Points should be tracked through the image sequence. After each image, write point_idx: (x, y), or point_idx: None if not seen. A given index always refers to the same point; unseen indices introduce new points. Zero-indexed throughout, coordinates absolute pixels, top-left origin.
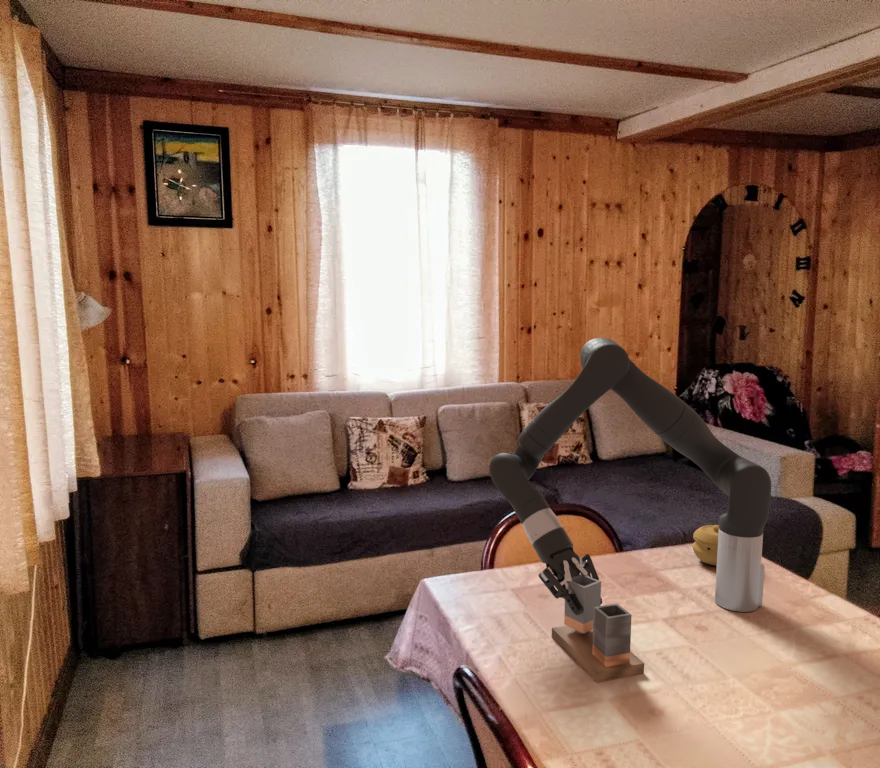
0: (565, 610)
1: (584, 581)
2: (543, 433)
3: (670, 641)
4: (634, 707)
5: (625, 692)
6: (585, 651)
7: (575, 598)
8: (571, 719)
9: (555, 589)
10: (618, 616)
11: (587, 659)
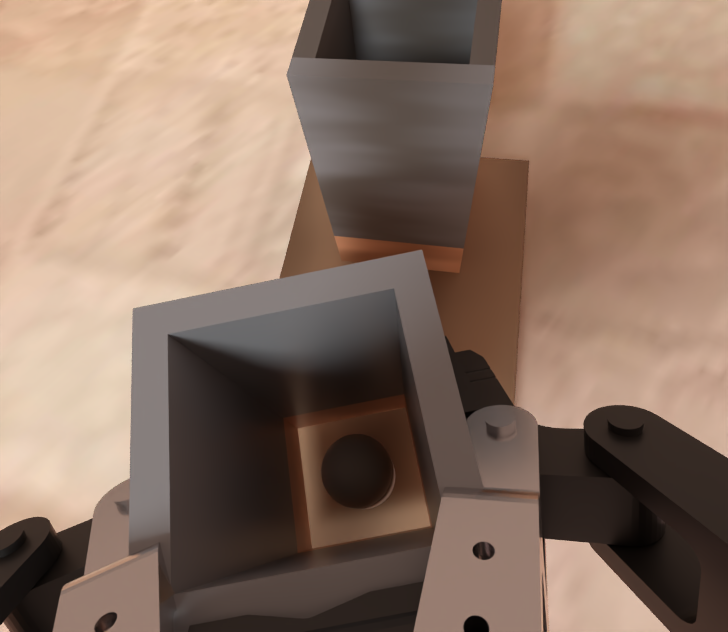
0: None
1: (203, 538)
2: None
3: (48, 299)
4: None
5: None
6: (475, 302)
7: (464, 385)
8: (723, 67)
9: (651, 577)
10: None
11: (508, 247)
